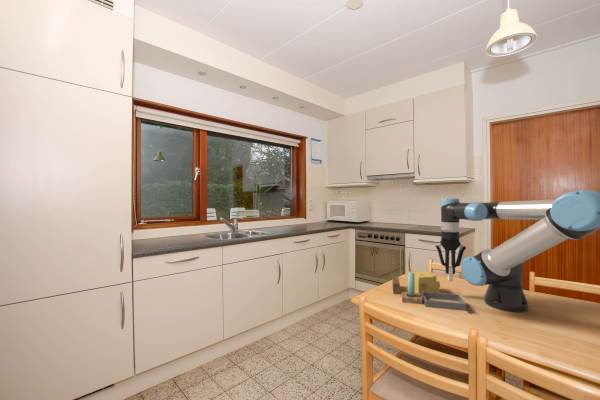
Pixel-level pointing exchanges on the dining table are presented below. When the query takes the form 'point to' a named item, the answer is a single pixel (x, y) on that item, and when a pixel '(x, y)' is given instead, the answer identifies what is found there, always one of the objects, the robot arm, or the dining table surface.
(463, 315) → the dining table surface
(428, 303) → the tray
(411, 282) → the dowel
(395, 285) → the bar
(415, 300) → the holder
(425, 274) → the cheese
